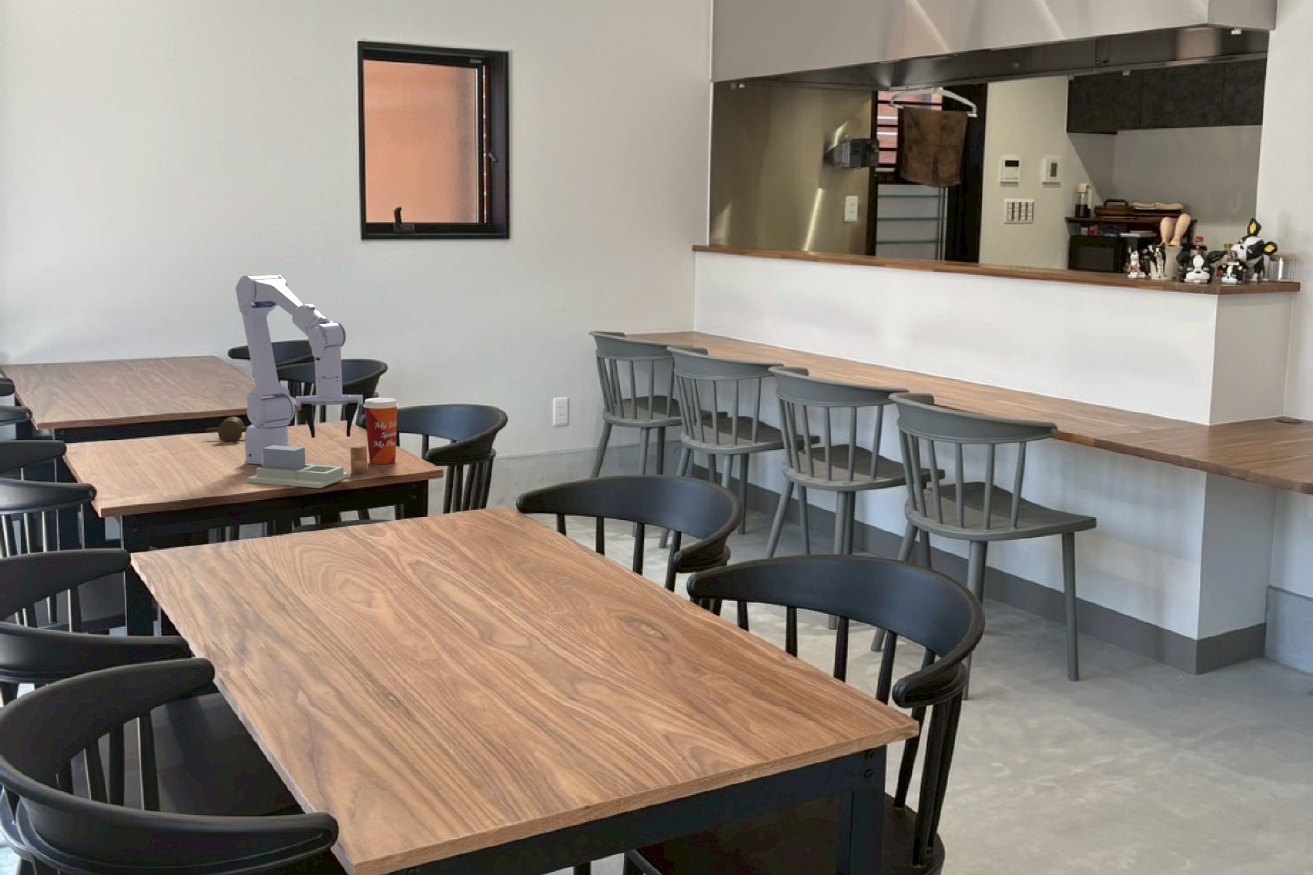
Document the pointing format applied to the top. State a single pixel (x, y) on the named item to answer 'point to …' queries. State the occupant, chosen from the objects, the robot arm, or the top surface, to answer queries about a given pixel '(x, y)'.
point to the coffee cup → (381, 429)
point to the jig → (300, 476)
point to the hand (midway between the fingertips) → (330, 436)
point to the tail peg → (358, 460)
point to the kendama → (230, 429)
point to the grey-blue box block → (283, 457)
